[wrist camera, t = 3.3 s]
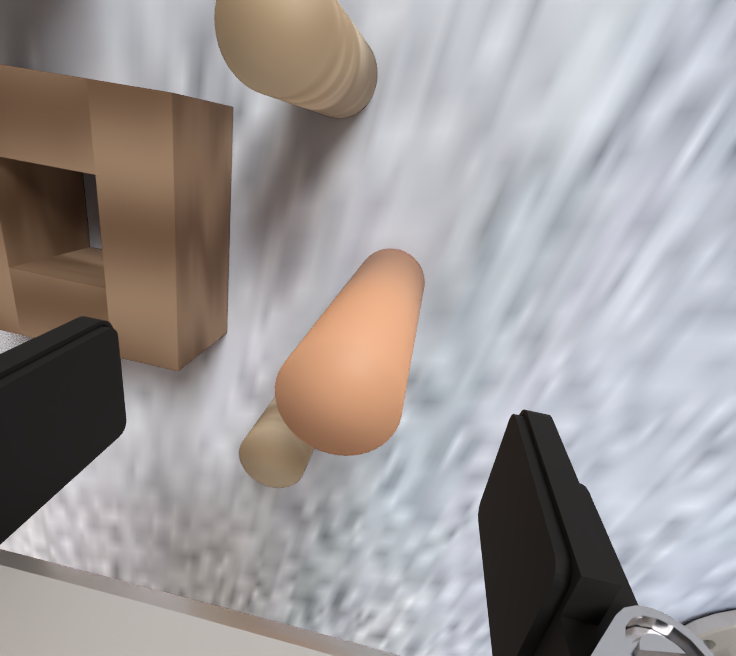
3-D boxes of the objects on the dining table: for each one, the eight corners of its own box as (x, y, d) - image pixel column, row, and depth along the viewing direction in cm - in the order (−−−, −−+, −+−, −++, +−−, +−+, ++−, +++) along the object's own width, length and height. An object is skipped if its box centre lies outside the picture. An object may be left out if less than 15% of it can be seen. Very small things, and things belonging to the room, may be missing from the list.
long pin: (417, 319, 23) (389, 468, 12) (353, 306, 23) (270, 439, 12) (431, 255, 22) (414, 358, 11) (363, 242, 22) (279, 329, 11)
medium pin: (370, 123, 20) (325, 104, 13) (298, 111, 20) (213, 86, 13) (383, 35, 18) (341, -45, 11) (305, 23, 19) (215, -61, 11)
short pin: (326, 437, 27) (301, 494, 22) (273, 424, 27) (238, 478, 23) (332, 389, 26) (307, 440, 21) (276, 377, 26) (240, 424, 21)
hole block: (226, 332, 25) (178, 371, 21) (44, 292, 26) (-41, 320, 22) (233, 107, 21) (171, 92, 16) (10, 69, 22) (-107, 46, 17)
